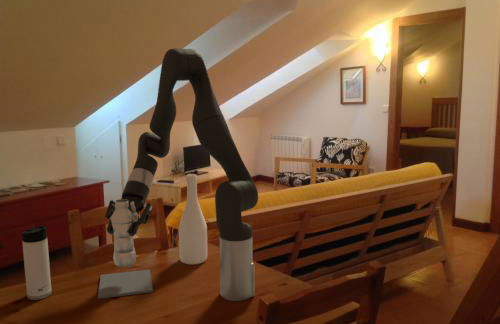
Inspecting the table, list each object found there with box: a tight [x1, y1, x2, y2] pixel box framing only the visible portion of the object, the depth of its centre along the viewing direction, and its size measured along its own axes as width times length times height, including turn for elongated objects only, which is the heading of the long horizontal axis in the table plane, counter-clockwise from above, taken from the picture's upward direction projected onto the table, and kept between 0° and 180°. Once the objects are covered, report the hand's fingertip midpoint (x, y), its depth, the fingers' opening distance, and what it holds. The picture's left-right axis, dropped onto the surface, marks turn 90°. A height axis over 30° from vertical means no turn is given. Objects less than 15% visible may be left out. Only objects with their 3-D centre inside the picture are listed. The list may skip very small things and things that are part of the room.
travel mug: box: [21, 225, 52, 301], centre depth 120 cm, size 6×7×20 cm
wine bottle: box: [178, 173, 208, 265], centre depth 145 cm, size 10×10×30 cm
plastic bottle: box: [111, 198, 137, 268], centre depth 126 cm, size 6×7×20 cm
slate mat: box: [97, 269, 153, 300], centre depth 129 cm, size 15×15×1 cm
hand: (120, 234), depth 125 cm, fingers closed on plastic bottle, 6 cm apart
